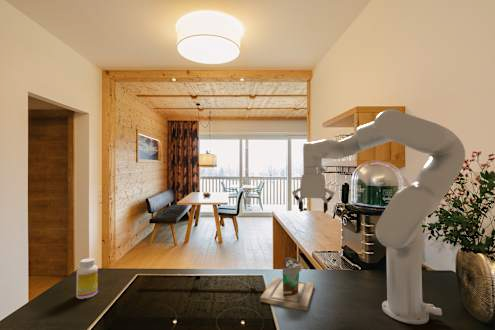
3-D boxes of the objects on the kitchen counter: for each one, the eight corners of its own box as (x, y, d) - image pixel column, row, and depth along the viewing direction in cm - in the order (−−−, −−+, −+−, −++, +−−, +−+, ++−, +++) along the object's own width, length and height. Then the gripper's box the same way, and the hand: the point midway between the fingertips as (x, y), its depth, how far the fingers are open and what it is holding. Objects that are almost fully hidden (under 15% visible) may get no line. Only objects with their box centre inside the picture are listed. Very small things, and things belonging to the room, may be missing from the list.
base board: (314, 287, 98) (314, 282, 98) (307, 310, 81) (307, 305, 82) (274, 280, 104) (274, 276, 104) (260, 301, 87) (260, 296, 88)
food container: (300, 299, 86) (300, 270, 86) (282, 297, 87) (282, 268, 87) (301, 284, 98) (301, 258, 98) (285, 282, 99) (285, 257, 99)
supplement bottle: (100, 294, 93) (100, 259, 93) (79, 301, 88) (79, 264, 88) (94, 289, 97) (94, 255, 98) (74, 295, 92) (74, 260, 93)
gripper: (334, 171, 107) (335, 211, 106) (294, 171, 113) (294, 209, 113) (333, 171, 100) (334, 214, 99) (290, 171, 106) (290, 212, 106)
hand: (313, 211), depth 106 cm, fingers open, 9 cm apart
